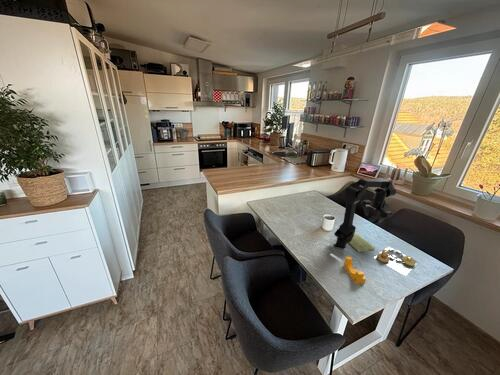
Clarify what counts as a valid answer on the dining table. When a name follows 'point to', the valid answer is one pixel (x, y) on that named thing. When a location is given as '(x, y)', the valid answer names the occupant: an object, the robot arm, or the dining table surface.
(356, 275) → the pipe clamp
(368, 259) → the dining table surface
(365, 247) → the washcloth
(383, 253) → the bronze flanged knob
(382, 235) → the dining table surface
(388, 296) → the dining table surface
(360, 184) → the robot arm
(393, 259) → the carrier plate
